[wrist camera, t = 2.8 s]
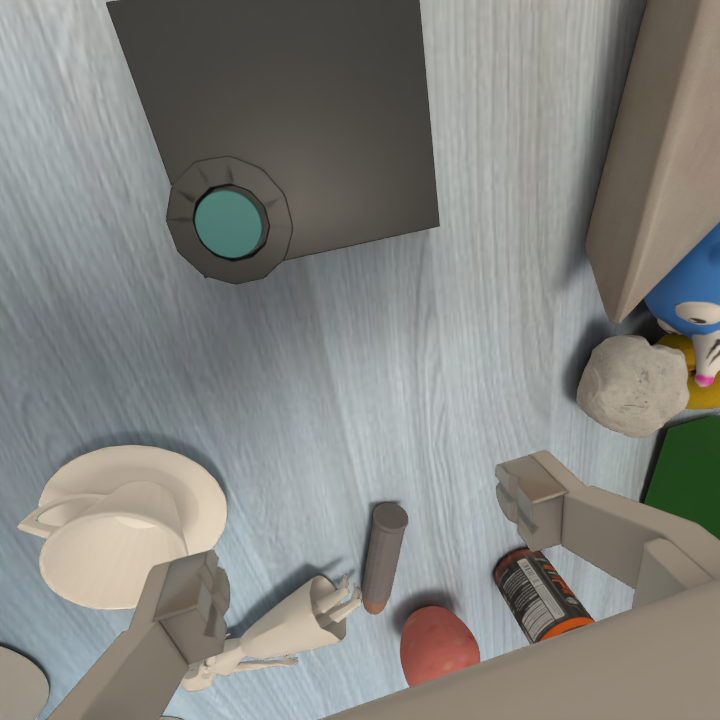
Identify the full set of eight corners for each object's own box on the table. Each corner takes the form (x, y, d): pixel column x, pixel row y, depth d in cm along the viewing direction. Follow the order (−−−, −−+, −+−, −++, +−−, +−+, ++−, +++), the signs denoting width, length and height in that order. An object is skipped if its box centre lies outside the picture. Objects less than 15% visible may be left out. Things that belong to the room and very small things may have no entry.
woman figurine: (316, 537, 31) (140, 630, 33) (322, 593, 27) (122, 694, 29) (378, 591, 37) (227, 667, 39) (390, 643, 33) (222, 723, 35)
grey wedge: (623, 330, 31) (789, 58, 25) (698, 358, 25) (934, 17, 19) (472, 269, 26) (634, -84, 20) (525, 286, 20) (767, -191, 15)
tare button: (212, 259, 20) (208, 263, 18) (192, 197, 18) (184, 197, 17) (270, 247, 20) (269, 250, 18) (252, 185, 19) (251, 184, 17)
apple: (424, 579, 38) (459, 669, 30) (469, 601, 40) (511, 688, 33) (376, 626, 39) (398, 722, 32) (423, 643, 42) (454, 736, 34)
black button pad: (205, 281, 23) (193, 294, 20) (111, 22, 18) (75, -17, 14) (429, 231, 24) (452, 236, 21) (403, -20, 19) (428, -64, 16)
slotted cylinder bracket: (626, 557, 43) (670, 541, 44) (712, 640, 35) (763, 618, 36) (668, 428, 35) (720, 413, 36) (791, 496, 27) (852, 474, 28)
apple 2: (634, 374, 35) (613, 375, 29) (689, 317, 32) (678, 305, 27) (708, 423, 31) (701, 434, 26) (778, 362, 29) (786, 359, 23)
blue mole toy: (728, 404, 29) (602, 381, 32) (751, 256, 30) (627, 247, 32) (885, 397, 18) (668, 362, 20) (915, 158, 18) (703, 157, 21)
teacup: (71, 411, 24) (21, 463, 19) (252, 459, 28) (248, 512, 23) (32, 547, 27) (-20, 620, 23) (200, 572, 31) (186, 639, 27)
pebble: (596, 326, 32) (545, 341, 32) (695, 323, 24) (631, 344, 24) (615, 419, 33) (566, 437, 33) (716, 446, 25) (655, 470, 25)
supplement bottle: (552, 559, 41) (646, 679, 30) (511, 593, 41) (588, 721, 31) (524, 536, 38) (614, 659, 28) (481, 573, 39) (553, 705, 29)
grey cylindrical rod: (378, 497, 33) (368, 522, 30) (411, 508, 32) (405, 534, 30) (362, 585, 37) (353, 614, 34) (392, 596, 37) (385, 626, 34)
